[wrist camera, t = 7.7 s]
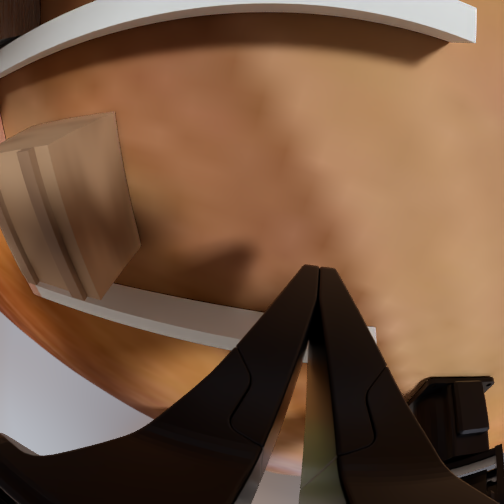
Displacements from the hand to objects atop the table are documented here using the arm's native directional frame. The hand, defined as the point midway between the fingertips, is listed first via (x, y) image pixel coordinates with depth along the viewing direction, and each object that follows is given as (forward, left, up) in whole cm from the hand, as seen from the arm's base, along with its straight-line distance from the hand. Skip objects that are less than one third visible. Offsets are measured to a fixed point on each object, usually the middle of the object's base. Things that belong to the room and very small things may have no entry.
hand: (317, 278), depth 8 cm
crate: (0, +12, -5) cm, 12 cm away
